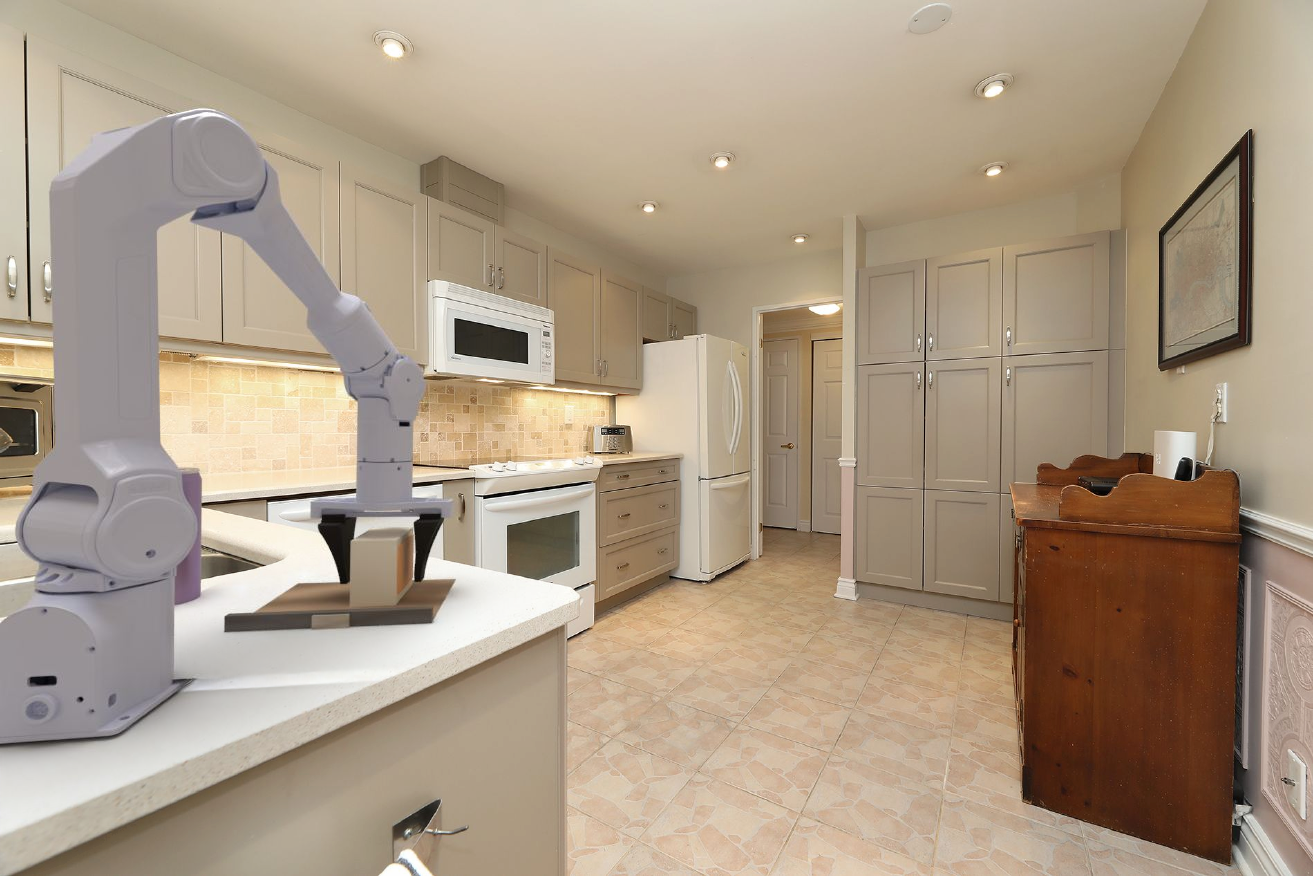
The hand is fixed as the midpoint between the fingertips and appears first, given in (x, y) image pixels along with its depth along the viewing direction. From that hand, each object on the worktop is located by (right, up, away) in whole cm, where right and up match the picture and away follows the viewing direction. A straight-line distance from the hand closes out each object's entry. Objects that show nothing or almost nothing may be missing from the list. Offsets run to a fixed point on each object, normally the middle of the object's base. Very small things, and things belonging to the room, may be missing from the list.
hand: (383, 580), depth 64 cm
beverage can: (-22, -2, -3) cm, 22 cm away
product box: (0, -2, 0) cm, 2 cm away
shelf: (-2, -3, -2) cm, 4 cm away
